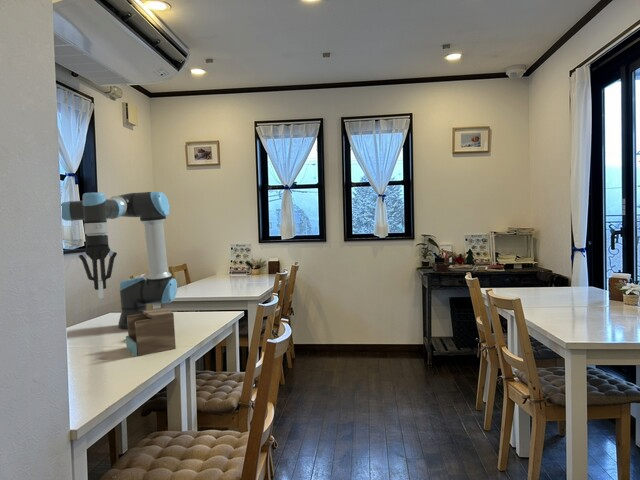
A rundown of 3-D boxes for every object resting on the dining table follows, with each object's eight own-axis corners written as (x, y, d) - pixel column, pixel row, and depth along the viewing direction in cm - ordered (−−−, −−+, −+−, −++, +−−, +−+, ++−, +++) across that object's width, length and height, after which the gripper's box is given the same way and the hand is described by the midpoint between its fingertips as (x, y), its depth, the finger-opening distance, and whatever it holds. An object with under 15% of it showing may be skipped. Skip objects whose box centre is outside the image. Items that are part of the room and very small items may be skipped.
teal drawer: (126, 348, 181) (125, 336, 181) (160, 342, 188) (160, 330, 188) (134, 356, 169) (134, 343, 169) (171, 349, 177) (170, 336, 177)
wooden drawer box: (129, 348, 182) (126, 312, 181) (164, 341, 190) (162, 307, 189) (138, 356, 169) (135, 318, 169) (175, 348, 177) (173, 312, 177)
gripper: (78, 235, 161) (82, 301, 162) (117, 233, 168) (121, 296, 170) (75, 235, 167) (80, 299, 168) (113, 233, 175) (117, 294, 176)
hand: (101, 298), depth 169 cm, fingers closed
